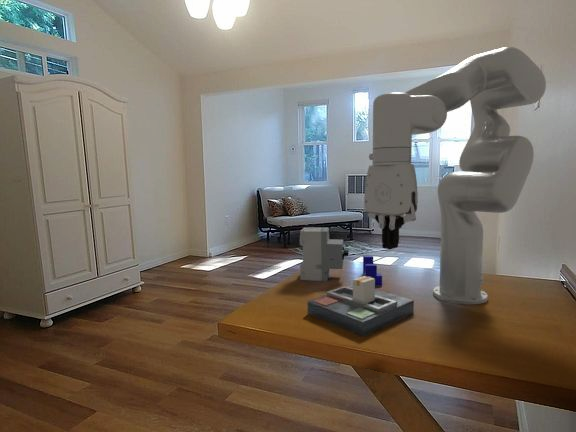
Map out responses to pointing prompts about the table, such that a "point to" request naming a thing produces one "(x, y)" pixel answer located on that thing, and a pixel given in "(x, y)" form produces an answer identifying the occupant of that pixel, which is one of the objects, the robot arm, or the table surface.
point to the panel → (360, 310)
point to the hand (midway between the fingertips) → (390, 247)
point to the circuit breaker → (320, 254)
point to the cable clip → (371, 270)
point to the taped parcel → (364, 289)
